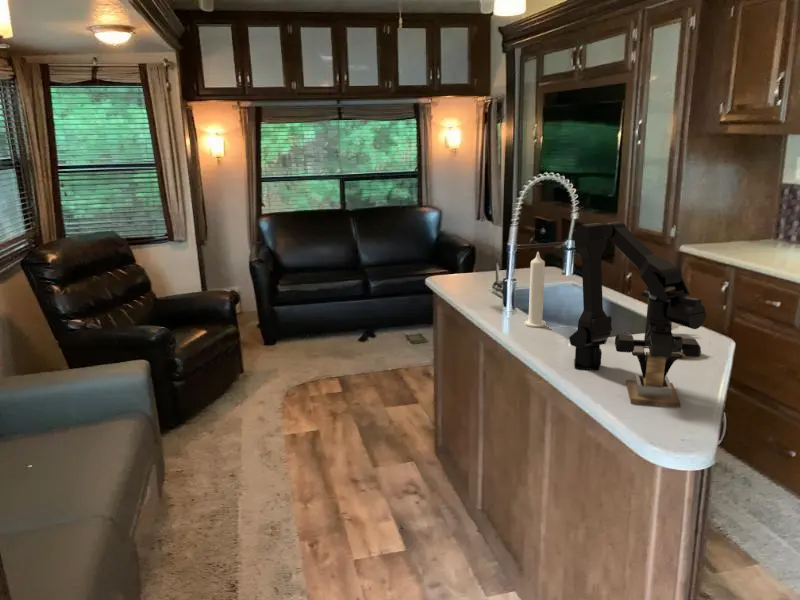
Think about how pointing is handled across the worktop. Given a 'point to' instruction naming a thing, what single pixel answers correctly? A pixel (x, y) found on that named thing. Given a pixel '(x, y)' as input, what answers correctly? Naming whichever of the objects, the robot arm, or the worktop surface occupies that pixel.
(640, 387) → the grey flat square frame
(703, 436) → the worktop surface
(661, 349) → the robot arm
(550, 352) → the worktop surface
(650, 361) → the rail post
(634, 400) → the plate
